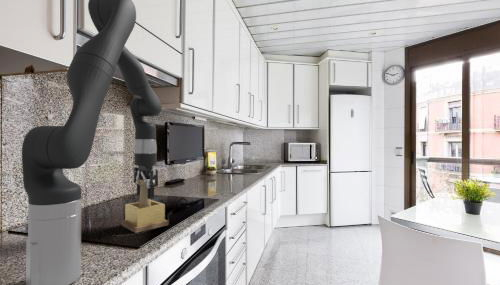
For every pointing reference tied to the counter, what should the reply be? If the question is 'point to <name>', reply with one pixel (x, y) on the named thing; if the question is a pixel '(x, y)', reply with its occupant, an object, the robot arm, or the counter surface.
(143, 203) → the handle
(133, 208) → the sleeve block
